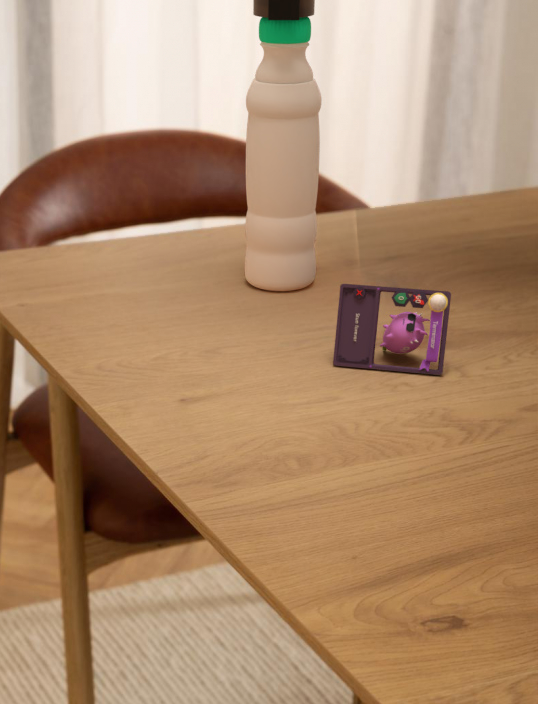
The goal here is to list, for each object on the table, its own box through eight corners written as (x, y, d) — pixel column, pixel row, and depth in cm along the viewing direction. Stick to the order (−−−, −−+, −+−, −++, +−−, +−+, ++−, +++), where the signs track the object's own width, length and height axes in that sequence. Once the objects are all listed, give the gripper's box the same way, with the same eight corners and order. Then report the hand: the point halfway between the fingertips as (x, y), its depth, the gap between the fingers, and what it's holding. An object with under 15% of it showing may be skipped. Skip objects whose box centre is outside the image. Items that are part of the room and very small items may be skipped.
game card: (339, 283, 97) (450, 291, 95) (347, 285, 102) (453, 293, 100) (331, 365, 98) (441, 375, 96) (340, 363, 103) (445, 373, 101)
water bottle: (246, 293, 115) (248, 19, 104) (242, 271, 121) (244, 10, 110) (319, 292, 115) (328, 18, 104) (311, 270, 122) (319, 10, 110)
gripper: (252, -277, 105) (249, 3, 116) (237, -304, 88) (236, 28, 99) (337, -279, 104) (327, 4, 115) (339, -305, 87) (326, 28, 98)
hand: (285, 14), depth 107 cm, fingers open, 6 cm apart
